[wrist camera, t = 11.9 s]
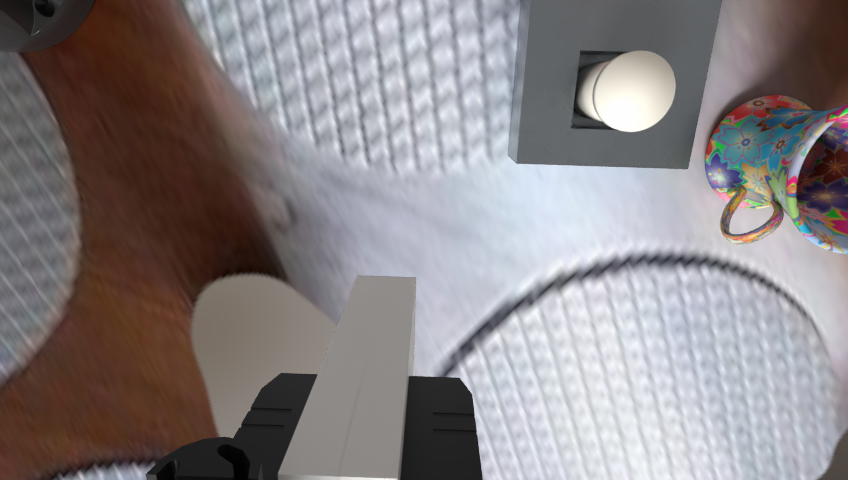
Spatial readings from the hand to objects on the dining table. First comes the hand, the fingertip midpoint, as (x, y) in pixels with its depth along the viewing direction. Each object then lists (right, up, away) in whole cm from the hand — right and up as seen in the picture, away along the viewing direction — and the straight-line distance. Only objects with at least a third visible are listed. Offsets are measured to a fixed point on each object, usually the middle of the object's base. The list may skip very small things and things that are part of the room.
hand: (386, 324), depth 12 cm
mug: (+25, +8, +25) cm, 37 cm away
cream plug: (+14, +13, +22) cm, 29 cm away
